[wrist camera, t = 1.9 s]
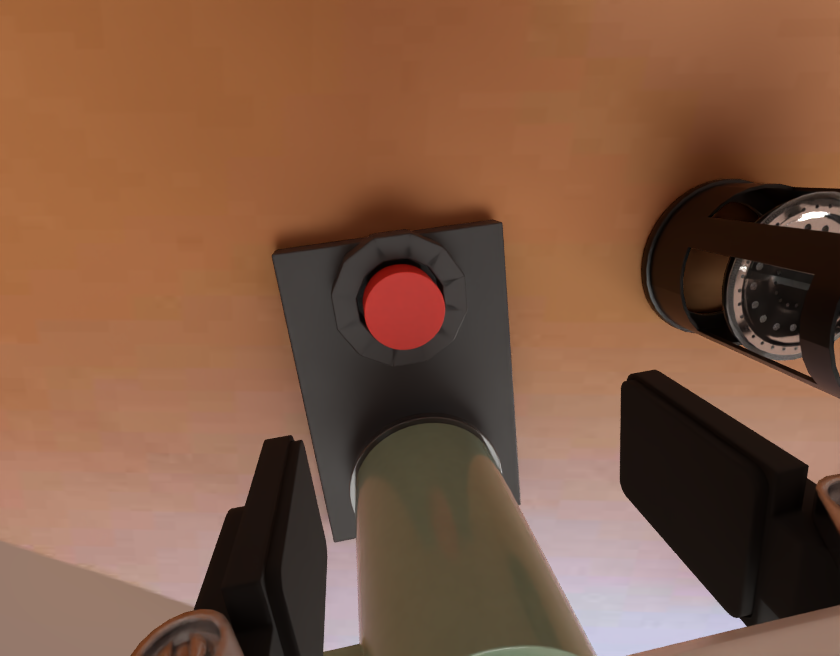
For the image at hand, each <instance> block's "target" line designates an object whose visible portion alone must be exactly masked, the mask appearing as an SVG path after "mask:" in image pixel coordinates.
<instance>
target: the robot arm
mask: <svg viewBox="0 0 840 656" xmlns="http://www.w3.org/2000/svg"><path fill="white" fill-rule="evenodd" d="M808 467H809V466H808V465H807V464H805V463H803V462H802V461H800V460H799V459H797V458H795V457H794V456H792V455H791V454H789V453H788V452H786V451H784V450H783V449H781V448H780V447H778V446H776V445H775V444H773V443H772V442H770V441H769V440H767V439H765V438H764V437H762V436H761V435H759V434H757V433H756V432H754V431H753V430H751V429H750V428H748V427H746V426H745V425H743V424H742V423H740V422H738V421H737V420H735V419H734V418H732V417H731V416H729V415H727V414H726V413H724V412H723V411H721V410H719V409H718V408H716V407H715V406H713V405H712V404H710V403H708V402H707V401H705V400H704V399H702V398H700V397H699V396H697V395H696V394H694V393H693V392H691V391H689V390H688V389H686V388H685V387H683V386H681V385H680V384H678V383H677V382H675V381H674V380H672V379H670V378H669V377H667V376H666V375H664V374H662V373H661V372H659V371H657V370H650V371H645V372H639V373H634V374H630V375H629V376H628V378H627V381H624V382H623V383H622V385H621V430H620V484H621V487H622V490H623V492H624V494H625V495H626V497H627V498H628V499H629V500H630V501H631V502H632V504H633V505H634V506H635V507H636V508H637V509H638V510H639V512H640V513H641V514H642V515H643V516H644V517H645V519H646V520H647V521H648V522H649V523H650V524H651V525H652V527H653V528H654V529H655V530H656V531H657V532H658V533H659V535H660V536H661V537H662V538H663V539H664V540H665V542H666V543H667V544H668V545H669V546H670V547H671V548H672V550H673V551H674V552H675V553H676V554H677V555H678V556H679V558H680V559H681V560H682V561H683V562H684V563H685V564H686V566H687V567H688V568H689V569H690V570H691V571H692V573H693V574H694V575H695V576H696V577H697V578H698V579H699V581H700V582H701V583H702V584H703V585H704V586H705V587H706V589H707V590H708V591H709V592H710V593H711V594H712V595H713V597H714V598H715V599H716V600H717V601H718V602H719V604H720V605H721V606H722V607H723V608H724V609H725V610H726V611H727V612H728V613H729V614H730V615H731V616H733V617H735V618H740V619H741V620H742V621H743V622H744V624H745V625H746V626H747V627H744V628H740V629H736V630H731V631H727V632H723V633H719V634H715V635H711V636H706V637H702V638H698V639H694V640H690V641H686V642H682V643H677V644H673V645H669V646H665V647H661V648H657V649H653V650H648V651H644V652H640V653H636V654H632V655H628V656H840V474H836V475H831V476H826V477H824V478H823V479H821V480H819V481H818V484H815V483H814V482H812V481H811V480H809V479H808V478H807V473H808ZM326 574H327V546H326V540H325V535H324V531H323V526H322V522H321V517H320V513H319V508H318V504H317V500H316V495H315V491H314V486H313V482H312V477H311V473H310V468H309V464H308V460H307V455H306V451H305V446H304V443H303V441H302V440H299V441H294V439H293V436H292V435H289V436H283V437H278V438H272V439H267V440H265V441H264V443H263V447H262V450H261V453H260V457H259V460H258V463H257V467H256V470H255V474H254V477H253V480H252V484H251V487H250V490H249V494H248V497H247V500H246V504H245V506H243V507H237V508H232V509H230V510H229V511H228V513H227V515H226V517H225V520H224V523H223V526H222V529H221V532H220V535H219V538H218V541H217V544H216V547H215V549H214V552H213V555H212V558H211V561H210V564H209V567H208V570H207V573H206V576H205V579H204V581H203V584H202V587H201V590H200V593H199V596H198V599H197V602H196V605H195V608H194V611H190V612H185V613H183V614H180V615H178V616H176V617H174V618H172V619H169V620H168V621H166V622H165V623H163V624H162V625H161V626H159V627H157V628H156V629H154V630H153V631H152V632H151V633H150V634H149V635H148V636H147V637H146V638H145V639H144V640H142V641H141V642H140V643H139V645H138V646H137V648H136V649H135V650H134V652H133V653H132V654H131V656H323V643H324V620H325V597H326Z"/></svg>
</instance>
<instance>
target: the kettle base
mask: <svg viewBox="0 0 840 656" xmlns="http://www.w3.org/2000/svg"><path fill="white" fill-rule="evenodd" d="M272 260H273V264H274V269H275V273H276V278H277V282H278V287H279V292H280V296H281V301H282V305H283V310H284V315H285V319H286V324H287V328H288V333H289V338H290V342H291V347H292V351H293V356H294V360H295V365H296V370H297V374H298V379H299V383H300V388H301V393H302V397H303V402H304V406H305V411H306V416H307V420H308V425H309V429H310V434H311V438H312V443H313V448H314V452H315V457H316V461H317V466H318V471H319V475H320V480H321V484H322V489H323V494H324V498H325V503H326V507H327V512H328V516H329V521H330V526H331V530H332V535H333V539H334V542H339V541H344V540H349V539H354V538H356V522H355V514H354V512H353V510H352V507H351V503H350V497H349V477H350V472H351V468H352V465H353V462H354V460H355V458H356V456H357V454H358V452H359V451H360V449H361V448H362V447H363V445H364V444H365V443H366V442H367V441H368V440H369V438H370V437H371V436H373V435H374V434H375V433H376V432H377V431H378V430H380V429H381V428H383V427H384V426H386V425H387V424H389V423H391V422H393V421H395V420H398V419H400V418H403V417H406V416H410V415H414V414H419V413H444V414H450V415H454V416H457V417H460V418H462V419H465V420H467V421H469V422H470V423H472V424H474V425H475V426H476V427H478V428H479V429H480V430H481V431H482V432H483V433H484V434H485V435H486V436H487V437H488V439H489V440H490V441H491V443H492V444H493V446H494V448H495V450H496V452H497V454H498V457H499V460H500V463H501V469H502V475H503V477H504V479H505V481H506V483H507V485H508V487H509V488H510V490H511V492H512V494H513V496H514V498H515V500H516V502H517V504H518V505H520V504H521V503H520V488H519V472H518V457H517V441H516V426H515V410H514V395H513V379H512V364H511V348H510V333H509V318H508V302H507V287H506V271H505V256H504V240H503V225H502V222H499V221H496V220H486V221H478V222H471V223H464V224H457V225H450V226H443V227H436V228H429V229H422V230H414V231H410V230H406V229H403V230H395V231H388V232H381V233H374V234H372V235H369V236H368V237H365V238H357V239H350V240H343V241H336V242H329V243H322V244H315V245H308V246H300V247H293V248H286V249H279V250H276V251H275V252H274V253H273V254H272ZM394 264H408V265H412V266H415V267H417V268H419V269H421V270H423V271H424V272H425V273H426V274H427V275H428V276H429V277H430V278H431V279H432V280H433V282H434V283H435V284H436V285H437V287H438V288H439V290H440V291H441V293H442V295H443V299H444V303H445V316H444V321H443V323H442V326H441V328H440V330H439V331H438V332H437V334H436V335H435V336H434V337H433V338H432V339H431V340H430V341H429V342H427V343H426V344H424V345H422V346H420V347H417V348H414V349H409V350H398V349H393V348H390V347H387V346H385V345H383V344H382V343H380V342H379V341H377V340H376V339H375V338H374V337H373V335H372V334H371V333H370V331H369V329H368V327H367V325H366V322H365V317H364V310H363V294H364V290H365V287H366V285H367V283H368V282H369V280H370V279H371V278H372V276H373V275H374V274H376V273H377V272H378V271H379V270H381V269H383V268H385V267H387V266H390V265H394Z"/></svg>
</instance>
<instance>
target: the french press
mask: <svg viewBox="0 0 840 656" xmlns="http://www.w3.org/2000/svg"><path fill="white" fill-rule="evenodd" d="M729 202H737V203H741V204H743V205H745V206H747V207H749V208H751V209H752V210H753V211H754V212H755V213H756V214H757V215H758V216H759V219H758V220H757V221H755V222H754V223H752V222H744V221H736V220H727V219H719V218H711V217H712V216H713V215H714V214H715V213H716V212H717V211H718V210H719V209H721V208H722V207H723V206H724V205H726V204H727V203H729ZM691 248H693V249H698V250H702V251H707V252H712V253H716V254H721V255H726V256H730V258H729V261H728V263H727V267H726V270H725V273H724V279H723V286H722V306H723V310H722V311H718V312H714V313H708V314H700V313H694V312H691V311H688V309H687V307H686V302H685V298H684V292H683V277H684V271H685V265H686V261H687V258H688V255H689V252H690V249H691ZM642 283H643V287H644V291H645V295H646V298H647V299H648V301H649V303H650V305H651V307H652V309H653V310H654V311H655V312H656V314H657V315H658V316H659V317H660V318H661V319H662V320H664V321H665V322H666V323H668V324H669V325H671V326H673V327H675V328H677V329H680V330H682V331H685V332H691V333H697V334H699V335H701V336H703V337H706V338H708V339H710V340H712V341H714V342H717V343H719V344H721V345H723V346H725V347H728V348H730V349H732V350H734V351H736V352H739V353H741V354H743V355H745V356H747V357H749V358H752V359H754V360H756V361H758V362H760V363H763V364H765V365H767V366H769V367H771V368H774V369H776V370H778V371H780V372H782V373H785V374H787V375H789V376H791V377H793V378H796V379H798V380H800V381H802V382H804V383H807V384H809V385H811V386H813V387H815V388H818V389H820V390H822V391H824V392H826V393H829V394H831V395H833V396H835V397H837V398H840V376H839V373H838V370H837V368H836V363H835V355H834V341H835V340H837V339H838V338H839V337H840V189H832V188H801V187H791V186H787V185H782V184H760V183H753V182H750V181H746V180H742V179H719V180H715V181H710V182H706V183H704V184H702V185H700V186H697V187H695V188H693V189H691V190H689V191H688V192H686V193H685V194H684V195H682V196H681V197H679V198H678V199H677V200H676V201H675V202H674V203H673V204H672V205H671V206H670V207H669V208H668V209H667V210H666V211H665V212H664V213H663V215H662V216H661V217H660V219H659V220H658V222H657V223H656V225H655V227H654V228H653V230H652V232H651V234H650V236H649V238H648V242H647V245H646V248H645V251H644V255H643V263H642ZM739 345H743V346H744V347H746V348H747V349H746V348H743V347H741V346H739ZM801 357H802V358H803V360H804V363H805V365H806V368H807V370H808V373H809V374H810V375H811V377H810V376H807V375H805V374H803V373H800V372H798V371H796V370H794V369H791V368H789V367H787V366H784V365H782V364H780V363H778V362H775V361H773V360H794V359H797V358H801ZM771 359H773V360H771Z"/></svg>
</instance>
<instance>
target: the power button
mask: <svg viewBox="0 0 840 656" xmlns="http://www.w3.org/2000/svg"><path fill="white" fill-rule="evenodd" d="M363 310H364V317H365V322H366V325H367V327H368V329H369V331H370V333H371V334H372V335H373V337H374V338H375V339H376V340H377V341H379V342H380V343H382V344H383V345H385V346H387V347H390V348H393V349H398V350H409V349H414V348H417V347H420V346H422V345H424V344H426V343H427V342H429V341H430V340H431V339H432V338H433V337H434V336H435V335H436V334H437V332H438V331H439V330H440V328H441V326H442V323H443V321H444V316H445V303H444V299H443V295H442V293H441V291H440V290H439V288H438V287H437V285H436V284H435V283H434V282H433V280H432V279H431V278H430V277H429V276H428V275H427V274H426V273H425V272H424V271H423V270H421V269H419V268H417V267H415V266H412V265H408V264H394V265H390V266H387V267H385V268H383V269H381V270H379V271H378V272H377V273H376V274H374V275H373V276H372V278H371V279H370V280H369V282H368V283H367V285H366V287H365V290H364V294H363Z"/></svg>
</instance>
